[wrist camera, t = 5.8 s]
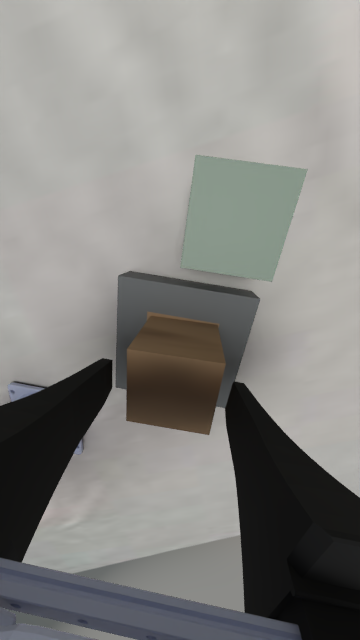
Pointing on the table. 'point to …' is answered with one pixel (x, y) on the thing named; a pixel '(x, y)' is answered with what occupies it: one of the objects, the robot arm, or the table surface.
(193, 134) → the table surface
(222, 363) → the walnut cube
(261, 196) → the sage cube
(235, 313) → the charcoal block
